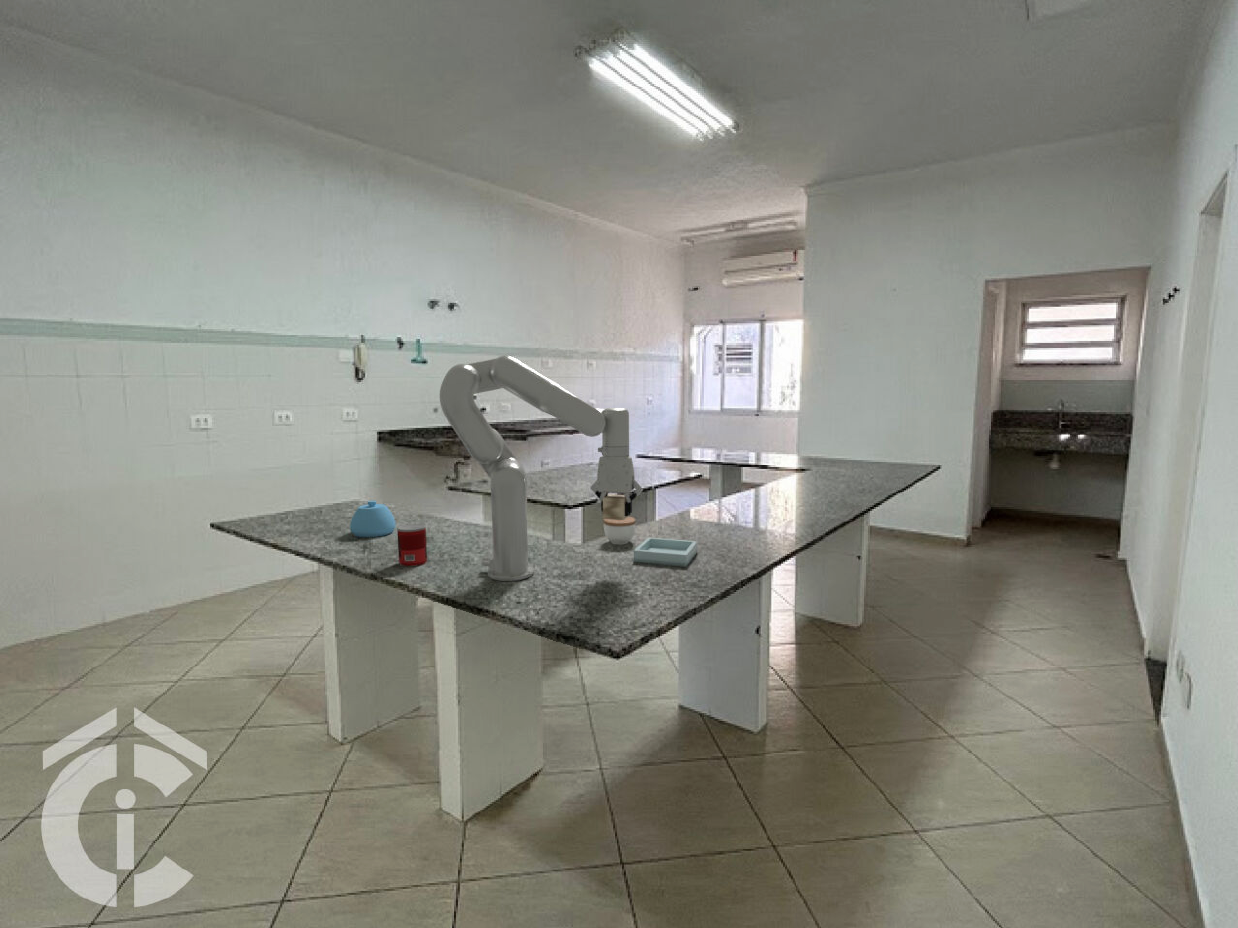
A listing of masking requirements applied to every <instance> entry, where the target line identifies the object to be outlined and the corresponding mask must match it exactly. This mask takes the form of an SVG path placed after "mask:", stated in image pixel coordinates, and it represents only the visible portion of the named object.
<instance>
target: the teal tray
mask: <svg viewBox="0 0 1238 928" xmlns="http://www.w3.org/2000/svg"><path fill="white" fill-rule="evenodd" d="M697 553H698V541H697V540H686V539H672V538H661V537H646V538H645V540H643V541H642V542H641V543H640V544H639V545H638V546H636V548H635V549H634V550H633V562H634V563H641V564H643V563H644V564H654V565H665V566H673V567H674V566H675V567H684V568H685V567H688V566H689V564H690V563H691V562H692V560H693V558H695V556H696V555H697Z"/></svg>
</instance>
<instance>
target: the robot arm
mask: <svg viewBox="0 0 1238 928" xmlns="http://www.w3.org/2000/svg"><path fill="white" fill-rule="evenodd" d="M442 380H443V381H442V382H441V384H440V389H439V402H440V403H439V404H440V408H441V410H442V413H443V414H444V417H445V418H446V420H447V422H449V425H450V426H451V427H452V429H453V430H454V432H455V434H456V435H457V437H458V438H459V439H460V441H461V442H462V444H463V445H464V447H465V448H466V450H467V451H468V453H469V455H470V457H471V458H472V459H473V460H474V461H476V462H478V463H479V465H480V466H481V468H482V469H483V471H484V472H485V473H486V475H487V477H489V479H490V501H491V502H490V503H491V526H492V527H491V530H492V532H491V533H492V557H489V556H483V557H482V561H481V566H485V567H489V569H488V570H487V576H488V578H490V579H492V580H494V581H495V580H496V581H499V582H503V581H504V582H513V581H519V580H521V581H522V580H525V579H528V578H531V577H532V576H533V575H534V574H535V572H534V571H535V569H534V567H533V566H531V565H529V548H528V546H529V545H528V544H529V543H528V541H529V539H528V511H527V510H528V509H527V508H528V506H527V505H528V504H527V503H528V500H527V498H528V478H527V474H526V471H525V469H524V467H523V466H522V464H521V462H520V461H519V460H518V458H517V457H516V455H515V454H514V452H513V451H512V449H511V448H510V447H509V445H508V444H507V442H506V441H505V440H504V438H503V436H502V435H501V434H500V433H499V431H498V430H496V429H495V428H493V427H492V426H491V425H490V423H489V422H488V421H487V419H486V417H484V415H483V413H482V411H481V410H480V408H479V407H478V406H477V404H476V403H475V400H474V398H475V397H474V395H476V394H480V393H485V392H491V391H495V390H500V389H504V390H506V391H507V392H508V393H511V394H513V395H514V396H515V397H518V398H519V399H521V400H522V401H524V402H526V403H527V404H529V405H531V406H532V407H534V408H536V409H537V410H540V411H541V412H543V413H545V414H547V415H550V416H551V417H554V418H555V419H557V420H559V421H561V422H563V423H564V424H566V425H568V426H570V427H571V428H573V429H575V430H576V431H578V432H579V433H581V434H582V435H585V436H586V437H590V438H592V437H593V438H594V437H598V436H599V435H601V434H602V436H601V437H602V438H601V441H602V445H601V446H600V447H598V448H597V452H598V453H601V456H599V459H598V465H597V472H596V473H597V474H596V480H595V481H594V483H592V484H591V486H590V490H591V491H592V492H593V493H594V494H595V496H596V497H597V498H598V499H599V501H600V507H601V508H600V510H601V512H603V498H604V497H606V496H607V495H609V494H623V495H624V496H625V498H626V503H625V516H629V515H630V516H631V514H632V513H633V501H634V500H635V499H636V498H637V497H638V496H639V495H640V494H641V493H642V492H643V490H644V489H643V488H642V486H641V485H640V483H638V482H637V481H636V479H635V469H634V464H633V463H634V462H633V460H632V456H630V414H629V413H630V412H629V410H628V409H627V408H623V407H608V408H596V407H594V406H592V405H590V404H589V403H587V402H586V401H584V400H582V399H581V398H579V397H577V396H576V395H574V394H573V393H571V392H569V391H568V390H566V389H565V388H563V387H562V386H560V385H559V384H558V383H556V382H554V381H553V380H551V379H550V378H548V377H546V376H545V375H543V374H542V373H539V372H538V371H536V370H535V369H534V368H531V367H530V366H528V365H527V364H525V363H523V362H522V361H521V360H519V359H517V358H516V357H513V356H510V355H501V356H499V357H497V358H492V359H487V360H482V361H476V362H471V363H458V364H456V365H454V366H452V367H451V368H450V369H448V371H447V372H446V374H445V376H444V378H443V379H442ZM634 489H635V491H634ZM632 491H634V492H633V493H632ZM630 516H629V517H630Z"/></svg>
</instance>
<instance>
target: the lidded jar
mask: <svg viewBox="0 0 1238 928" xmlns="http://www.w3.org/2000/svg"><path fill="white" fill-rule="evenodd" d="M636 522H637V520H636V519H635V517H632V516H629V517H627V518H626V519H624V520H613V519H603V529H604V534H605V537H606V539H607V540H608V542H609V541H610V543H611V544H613V545H626V544H629V543H630V541H631V540H632V539H633V538H634V536H635V533H636Z"/></svg>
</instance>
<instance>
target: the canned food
mask: <svg viewBox="0 0 1238 928" xmlns="http://www.w3.org/2000/svg"><path fill="white" fill-rule="evenodd" d="M396 534H397V547H398V548H397V549H398V550H397V551H398V552H397V553H398V562H399V565H401V566H402V567H403V566H404V567H417V566H421V565H424V564H426V563H427V560H428V547H427V546H428V545H427V543H428V541H427V527H426V525H425V524H423V523H408V524H403V525H402V524H401V525H399V526H398V527H397V533H396Z"/></svg>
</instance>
